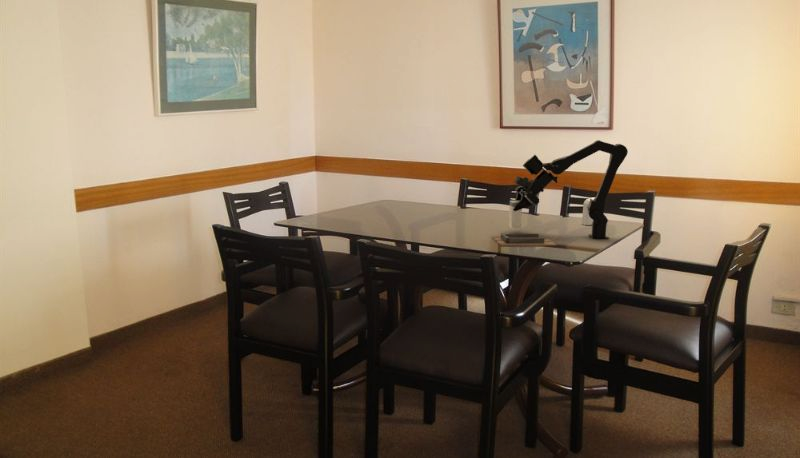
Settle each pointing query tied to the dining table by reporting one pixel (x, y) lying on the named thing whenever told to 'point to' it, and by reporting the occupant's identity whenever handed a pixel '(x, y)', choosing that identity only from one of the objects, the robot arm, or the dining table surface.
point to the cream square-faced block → (514, 216)
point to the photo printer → (586, 213)
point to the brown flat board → (523, 240)
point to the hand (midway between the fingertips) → (512, 209)
